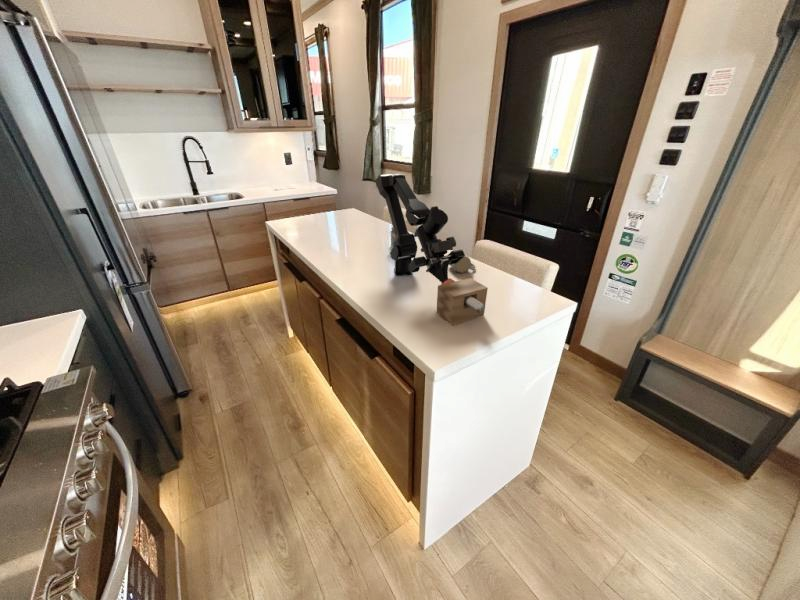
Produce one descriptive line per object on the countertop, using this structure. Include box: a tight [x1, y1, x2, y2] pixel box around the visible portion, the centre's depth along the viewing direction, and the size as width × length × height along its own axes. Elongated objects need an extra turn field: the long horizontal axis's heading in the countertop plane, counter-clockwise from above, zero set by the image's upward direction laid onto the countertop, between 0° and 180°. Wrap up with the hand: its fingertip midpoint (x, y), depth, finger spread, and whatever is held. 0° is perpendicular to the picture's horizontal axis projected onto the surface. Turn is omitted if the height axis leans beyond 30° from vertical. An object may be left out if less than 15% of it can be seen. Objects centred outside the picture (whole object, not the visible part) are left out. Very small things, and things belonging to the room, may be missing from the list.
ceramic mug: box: [449, 248, 476, 274], centre depth 128 cm, size 11×8×8 cm
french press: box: [388, 196, 408, 251], centre depth 148 cm, size 10×12×25 cm
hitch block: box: [435, 277, 489, 326], centre depth 96 cm, size 8×12×10 cm, turn 118°
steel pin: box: [440, 277, 484, 313], centre depth 95 cm, size 16×5×5 cm, turn 28°
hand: (446, 284), depth 101 cm, fingers closed, pressing on steel pin
